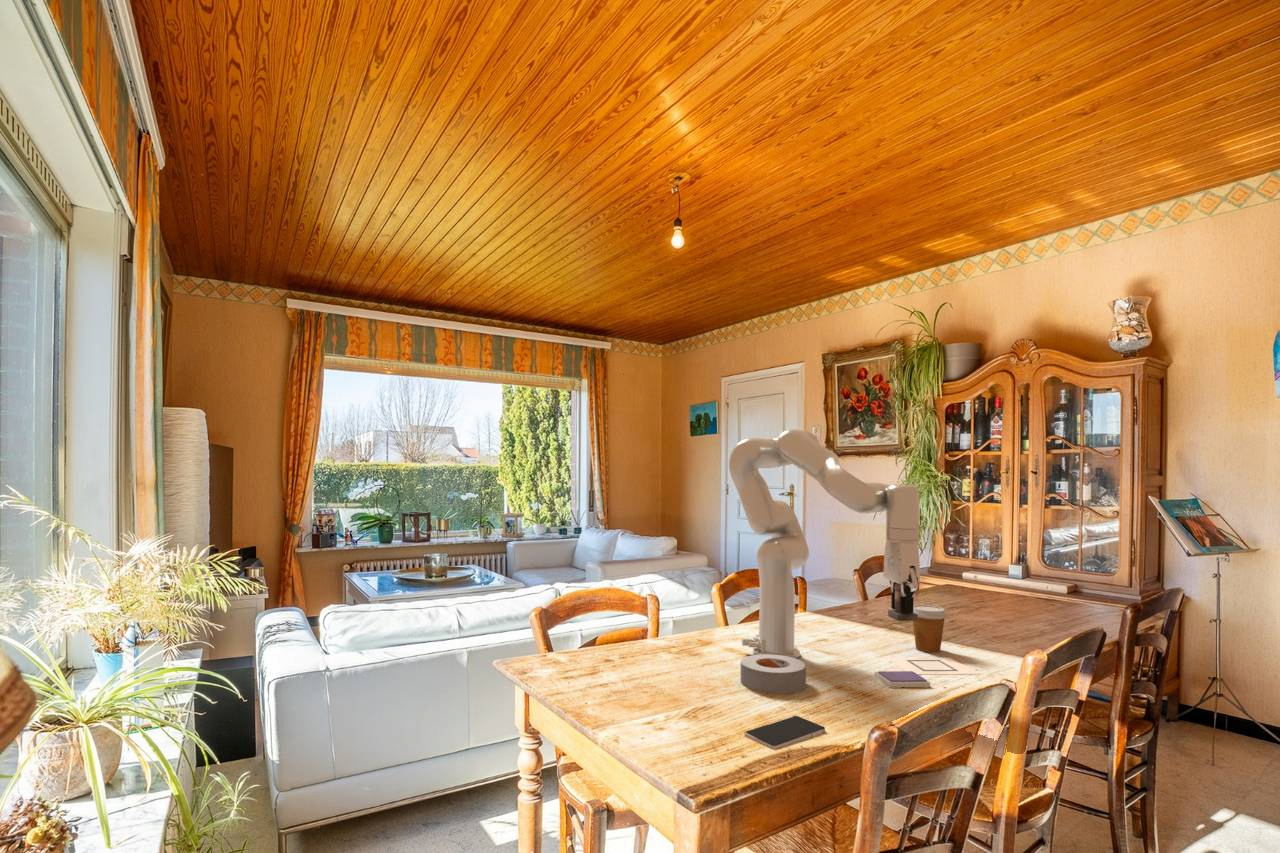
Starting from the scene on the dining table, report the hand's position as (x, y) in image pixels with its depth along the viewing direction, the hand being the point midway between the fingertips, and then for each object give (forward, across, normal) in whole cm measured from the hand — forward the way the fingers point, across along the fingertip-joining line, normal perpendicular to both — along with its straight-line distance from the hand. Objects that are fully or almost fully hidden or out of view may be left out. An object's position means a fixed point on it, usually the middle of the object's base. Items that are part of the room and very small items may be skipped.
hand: (902, 610), depth 167 cm
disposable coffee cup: (+17, -27, +21) cm, 38 cm away
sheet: (+17, -12, +14) cm, 25 cm away
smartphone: (+18, +30, -38) cm, 52 cm away
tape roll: (+18, 0, -32) cm, 37 cm away
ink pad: (+17, 0, 0) cm, 17 cm away
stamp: (+2, 0, 0) cm, 2 cm away
